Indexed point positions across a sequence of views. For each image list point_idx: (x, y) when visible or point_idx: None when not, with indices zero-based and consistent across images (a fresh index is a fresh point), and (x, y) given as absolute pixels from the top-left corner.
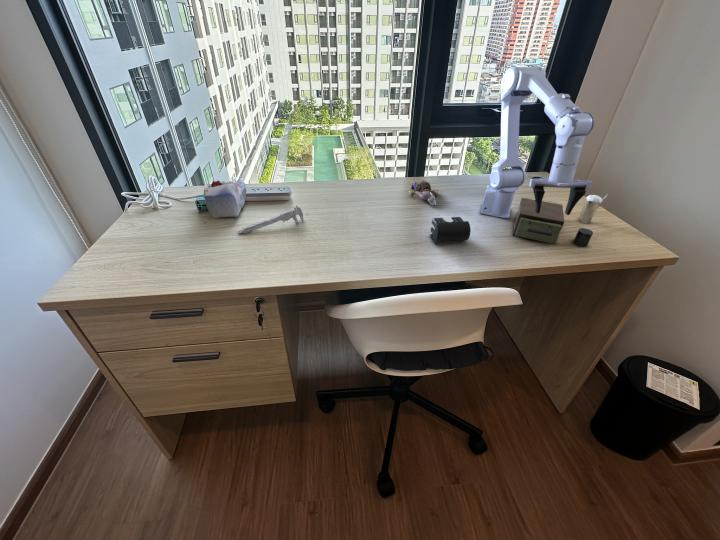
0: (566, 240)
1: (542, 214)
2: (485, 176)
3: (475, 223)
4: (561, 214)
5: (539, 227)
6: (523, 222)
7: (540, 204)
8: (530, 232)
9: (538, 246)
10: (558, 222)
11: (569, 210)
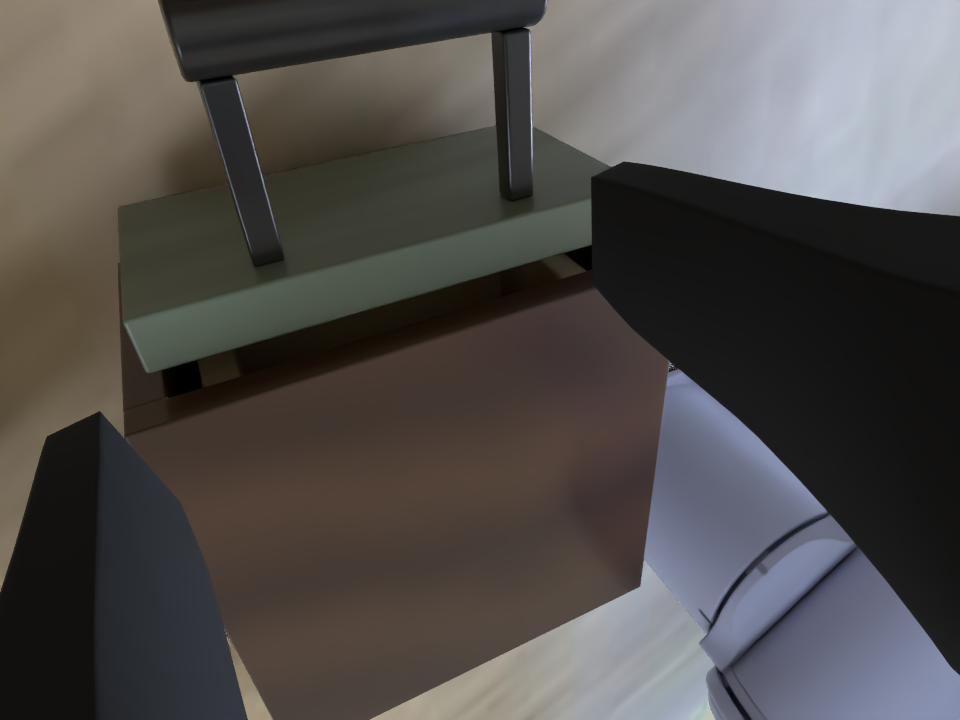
0: (43, 416)
1: (444, 423)
2: (692, 710)
3: (788, 175)
4: (236, 587)
5: (384, 218)
6: (582, 180)
7: (764, 219)
8: (427, 168)
9: (255, 85)
10: (201, 392)
11: (76, 492)
